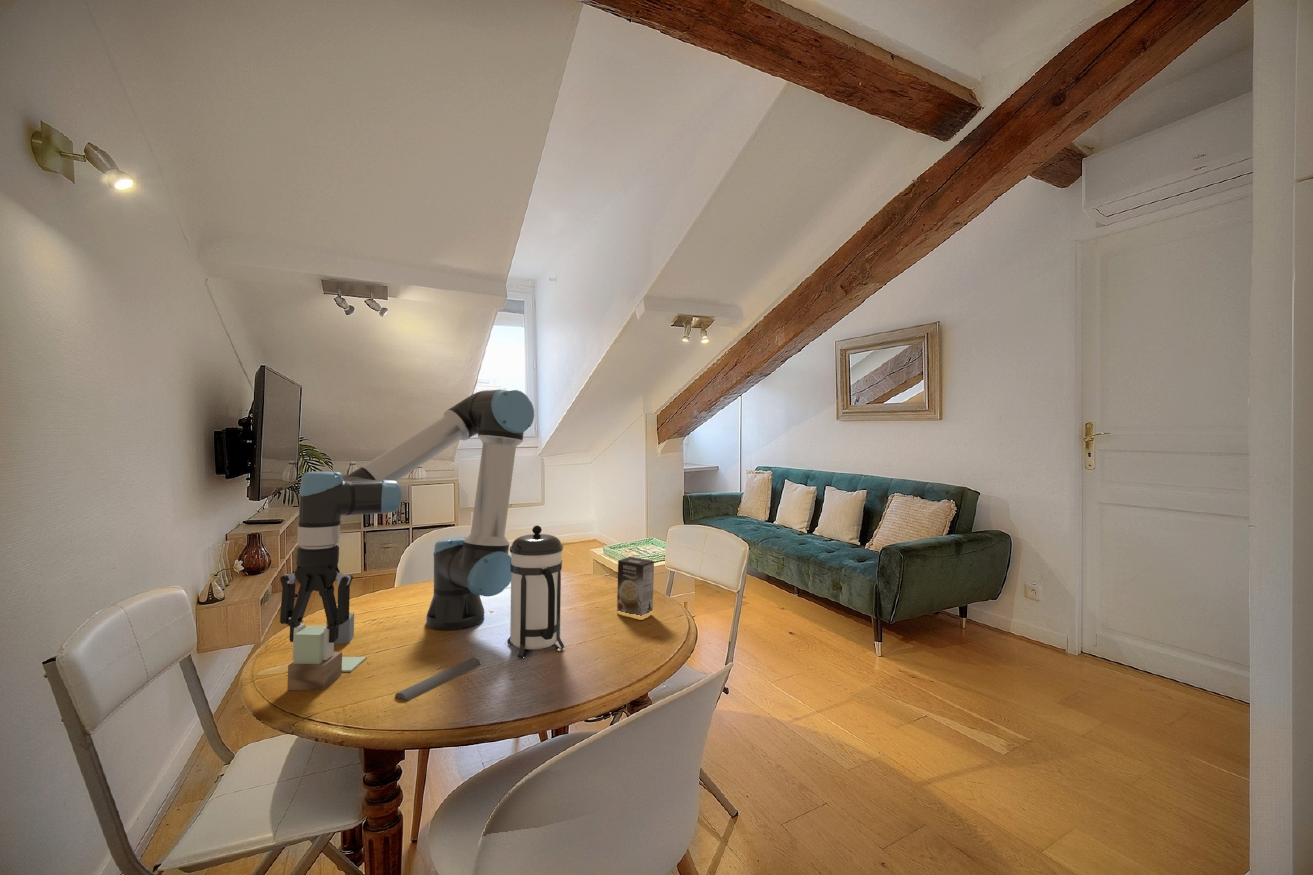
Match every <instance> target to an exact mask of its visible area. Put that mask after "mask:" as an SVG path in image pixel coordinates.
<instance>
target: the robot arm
mask: <svg viewBox="0 0 1313 875" xmlns="http://www.w3.org/2000/svg"><path fill="white" fill-rule="evenodd" d="M534 419H535V409H534V405H533V403H532V401H531V400H530V398H529V396H528V395H527V394H525V393H524V392H522V391H521V390H518V389H515V388H503V387H502V388H501V389H490V390H487V389H486V390H481V391H478V392H475V393H473V394H471V395H469V396H468V397H466V398H465V399H463V400H461V401H459V402H458V403H456V404H455V405H453V406H451V407H450V408H448V409H447V410H445V411H444V413H443V416H442V417H440V418H439V419H438V420H436V421H434V422H433V423H431V424H430V425H428V426H426V427H424V428H423V429H421V430H420V431H418V432H416V433H415V434H413V435H412V436H409V437H407V438H406V439H405V440H403V441H401V442H399V443H398V444H397V445H395V446H393V447H391V448H390V449H388V450H387V451H385V452H384V453H382V454H380V455H379V456H377V457H375V458H374V459H372V460H370V461H368V462H367V463H366V464H364V465H362V466H360V467H359V468H357V469H356V470H354V471H352V472H351V473H349V474H342V472H339V471H316V470H315V471H307V472H305V473H304V474H302V476H301V479H300V487H299V493H298V496H299V498H298V500H299V503H298V505H299V506H298V510H299V511H298V526H297V538H296V539H297V541H296V542H297V543H296V544H297V546H299V547H298V548H297V549H296V566H297V567H296V568H295V571H294V572H293V573H292V572H290V573H287V574H283V575H282V576H280V578H279V581H280V583H281V586H282V589H281V599H280V600H281V603H280V614H279V615H280V616H279V623H280V624H282V625H287V626H289V639H288V640H289V642H290V643H292V659H291V660H293V661H294V634H296V633H297V632H299V631H301V630H302V629H304V628H306V627H307V626H306V625H307V624H306V623H303V622H304V616H305V612H306V609H307V607H308V604H309V600H310V597H311V595H312V592H314V591H315V592H318V594H319V596H320V597H321V601H322V606H323V609H324V612H325V619H326V622H327V623H328V626H327V627H325V628H324V639H323V659H322V660H327V659H329V658H330V657H331V656H333V652H335V650H334V649H335V645H334V642H335V641H337V639H338V633H339V625H342V624H343V623H345V622H346V621H348V620H349V613H350V599H351V598H350V596H351V595H350V591H351V590H350V588H351V587H350V586H351V584H352V581H353V578H354V576H353V574H345V573H341V572H340V568H339V567H338V566H339V562H340V560H339V559H340V557H339V556H340V546H339V545H338V544H339V543H340V535H341V523H342V522H341V519H342V517H343V516H352V515H353V516H354V515H357V516H358V515H375V514H378V515H379V514H381V515H383V514H387V513H388V514H389V513H390V514H391V513H395V512H397V511H398V510H399V508H400V506H401V503H402V496H403V494H402V488H401V486H400V483H399V482H398V481H399V480H400V479H402V478H403V477H405V476H406V475H409V474H410V473H411V472H413V471H414V470H416V469H418V468H419V467H420V466H422V465H423V464H425V463H427V462H428V461H429V460H431V459H433V458H434V457H436V456H438V455H439V454H441V453H442V452H444V451H445V450H446V449H448V448H449V447H451V446H453V445H455V444H456V443H457V442H459V441H466V440H468V439H470V438H471V437H474V436H475V435H477V437H478V439H479V440H480V441H481V443H482V448H481V453H480V454H481V456H480V463H479V469H478V471H479V472H478V478H477V485H476V490H475V499H474V506H473V514H472V515H473V516H472V519H471V520H472V521H471V529H470V534H469V535H468V536H462V537H461V536H460V537H452V538H445V539H440V540H438V541H436V542H435V544H434V549H433V596H432V598H431V601H430V605H429V607H428V610H427V613H426V616H425V617H426V619H425V620H426V622H425V623H426V626H427V627H429V628H431V629H434V630H439V631H441V630H442V631H452V630H460V629H467V628H470V627H473V626H476V625H478V624H480V623H482V622H483V621H484V619H485V608H484V605H483V601H482V600H481V597H494V596H497V595H498V594H500V593H502V592H503V591H504V590H505V589H506V588H507V587H508V586H509V585H511V571H510V562H511V555H509V551H510V542H509V541H508V539H507V538H506V536H505V534H506V528H507V527H506V526H507V521H508V520H507V519H508V513H509V512H508V511H509V505H510V504H509V503H510V496H511V495H510V494H511V489H512V483H513V482H512V480H513V471H514V465H515V458H516V450H517V449H516V448H517V446H520V444H522V443H523V441H524V433H525V432H527V430H528V429H529V428H530V427H531V426H532V424H533V422H534ZM336 580H337V585H338V588H337V600H336V597H335V585H334V582H335V581H336ZM297 582H298V583H299V585H300V586H299V587H298V588H299V589H298V591H297V598H296V601H295V597H296V587H297V586H296V583H297Z"/></svg>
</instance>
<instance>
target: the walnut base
mask: <svg viewBox="0 0 1313 875" xmlns="http://www.w3.org/2000/svg"><path fill="white" fill-rule="evenodd" d="M342 657H343V651H333V656H331V657H330V658H329V659H327V660H324V661H322V662H321V663H320V664H294V661H293V662H291V663H289V664H287V687H286V689H287V691H324V690H326V689H327V688H328V687H329V686H330V685H332V684H333V683H334V682H335V681H336V680H337V679H339V678H340V677H341V676H342V673H343V672H342Z"/></svg>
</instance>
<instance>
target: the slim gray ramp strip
mask: <svg viewBox="0 0 1313 875" xmlns="http://www.w3.org/2000/svg"><path fill="white" fill-rule="evenodd" d="M480 666H481V661H480V659H479V658H477V657H476V656H473V657H470V658H468V659H466V660H464V661H462V662H460V663H457V664H455V665H454V666H451V667H449V668H447V669H444V670H443V671H441V672H438V673H437V674H434V675H433V676H430V677H428V678H426V679H424V680H422V681H420V682H417V683H415V684H413V685H411V686H408V687H407V688H404V689H403V690H400V691H398V692H396V694H395V695H394V696H395V697H396V698H399V699H401V700H405V701H407V702H409V701H412V700H413V699H416V698H417V697H419V696H422V695H423V694H426V693H427V692H430V691H432V690H434V689H435V688H438V687H440V686H441V685H444V684H445V683H447V682H449V681H452V680H453V679H456V678H458V677H459V676H461V675H464V674H466V673H467V672H470V671H471V670H474V669H475V668H477V667H480Z"/></svg>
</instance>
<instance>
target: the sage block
mask: <svg viewBox="0 0 1313 875" xmlns="http://www.w3.org/2000/svg"><path fill="white" fill-rule="evenodd" d="M325 627H327V626H326V625H308V626H305V628H304V629H302V630H301V631H299V632H297V633H296V634H294V660H293V662H294V664H320V663H321V662H322V661H324V660H322V659H323V639H324V628H325Z"/></svg>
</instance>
